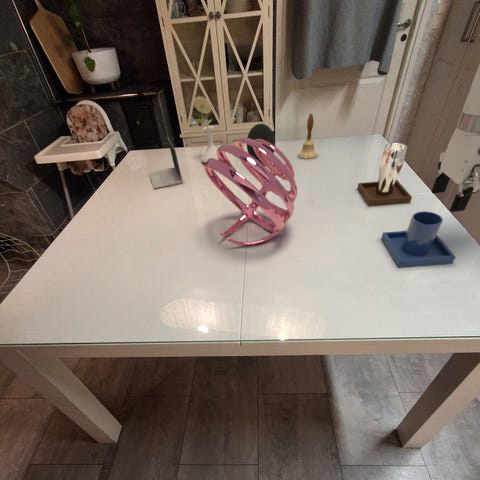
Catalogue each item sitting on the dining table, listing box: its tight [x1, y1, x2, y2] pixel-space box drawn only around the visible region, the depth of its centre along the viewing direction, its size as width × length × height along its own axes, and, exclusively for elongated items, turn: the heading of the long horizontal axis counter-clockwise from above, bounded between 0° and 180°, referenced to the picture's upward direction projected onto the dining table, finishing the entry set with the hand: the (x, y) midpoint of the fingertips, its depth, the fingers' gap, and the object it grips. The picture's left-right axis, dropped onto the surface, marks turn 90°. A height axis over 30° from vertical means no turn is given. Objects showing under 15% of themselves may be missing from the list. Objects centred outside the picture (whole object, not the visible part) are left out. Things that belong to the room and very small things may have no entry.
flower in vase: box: [192, 95, 218, 164], centre depth 132 cm, size 13×11×25 cm
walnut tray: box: [357, 179, 413, 207], centre depth 103 cm, size 14×14×2 cm
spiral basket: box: [203, 137, 298, 246], centre depth 85 cm, size 28×28×27 cm
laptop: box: [148, 137, 183, 189], centre depth 127 cm, size 18×12×13 cm
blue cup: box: [401, 211, 444, 256], centre depth 78 cm, size 7×7×9 cm
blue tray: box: [381, 230, 456, 268], centre depth 81 cm, size 14×14×2 cm
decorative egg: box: [246, 123, 276, 164], centre depth 129 cm, size 12×12×15 cm
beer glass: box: [374, 142, 408, 198], centre depth 98 cm, size 7×7×15 cm
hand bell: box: [297, 113, 318, 160], centre depth 129 cm, size 8×8×16 cm
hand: (446, 201), depth 74 cm, fingers open, 9 cm apart
